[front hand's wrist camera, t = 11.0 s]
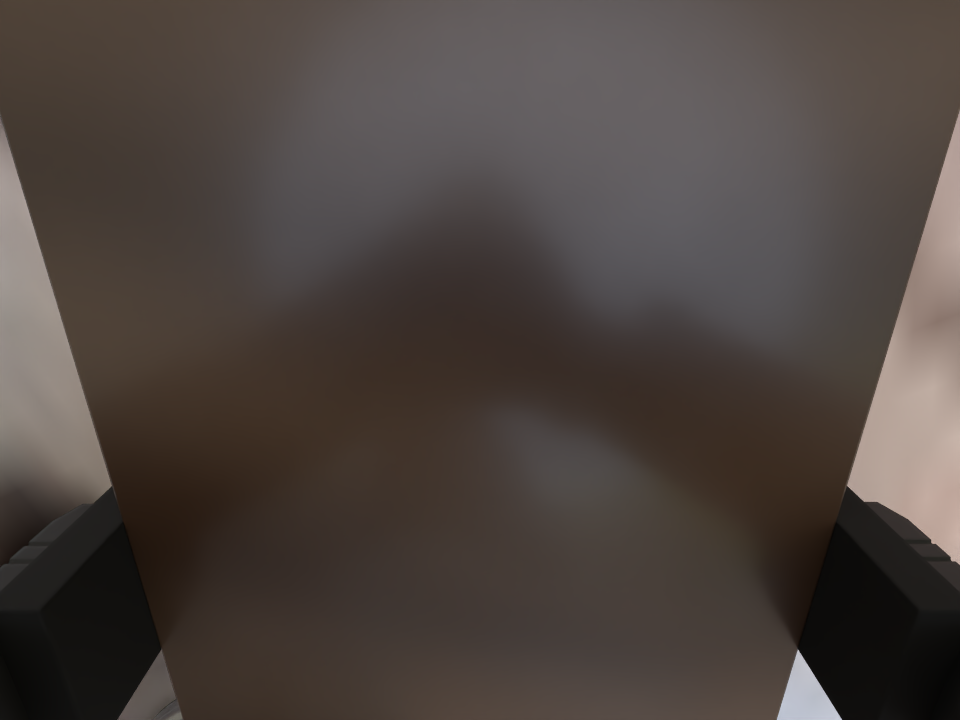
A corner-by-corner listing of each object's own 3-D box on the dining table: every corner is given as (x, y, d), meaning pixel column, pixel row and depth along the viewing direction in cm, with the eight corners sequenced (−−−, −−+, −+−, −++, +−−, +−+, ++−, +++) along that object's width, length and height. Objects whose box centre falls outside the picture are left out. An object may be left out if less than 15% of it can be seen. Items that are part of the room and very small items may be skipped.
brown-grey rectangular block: (243, -265, 13) (-493, -1493, 3) (714, -266, 13) (1445, -1487, 3) (329, 450, 20) (189, 750, 11) (629, 450, 20) (769, 749, 11)
